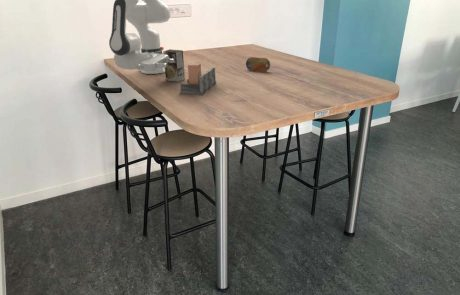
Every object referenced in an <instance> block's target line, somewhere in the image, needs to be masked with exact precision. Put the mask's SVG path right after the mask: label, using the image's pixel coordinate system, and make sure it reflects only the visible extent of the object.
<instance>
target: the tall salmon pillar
mask: <svg viewBox="0 0 460 295" xmlns="http://www.w3.org/2000/svg"><path fill="white" fill-rule="evenodd" d="M187 71H188V79H189V84H198V85H200V81H199V77H200V76H201V75H202V64H201V63H197V62H195V63H194V62H191V63H189V64H187Z"/></svg>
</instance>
